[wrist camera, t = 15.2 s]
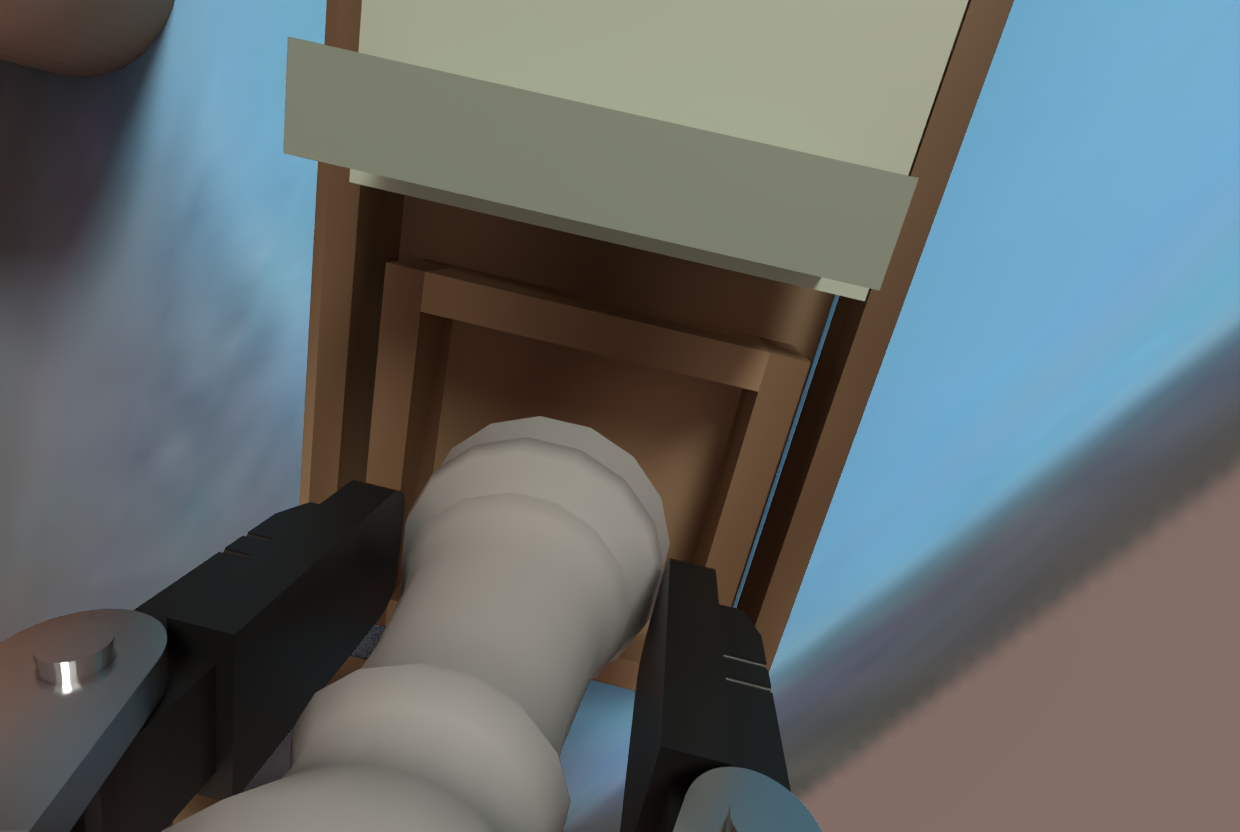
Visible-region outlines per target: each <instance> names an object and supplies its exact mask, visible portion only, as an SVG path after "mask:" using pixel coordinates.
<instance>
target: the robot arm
mask: <svg viewBox="0 0 1240 832" xmlns="http://www.w3.org/2000/svg"><path fill="white" fill-rule="evenodd" d="M404 511H405V497H404V494H403V493H402V492H401V491H398V490H394V489H390V488H386V487H382V486H378V485H374V484H370V483H366V482H362V481H358V480H353V481H350V482H349V483H347V484H346V485H345V486H343V487H342V488H341V489H339V490H338V491H336V492H335V493H334V494H332V495H331V496H330V497H328V498H327V499H326V500H324V501H323V502H322V503H320V504H317V503H313V502H308V503H305V504H302V505H300V506H297V507H294V508H291V509H288V510H285V511H282V512H279V513H276V514H274V515H273V516H271V517H270V518H268V519H267V520H265V521H264V522H262V523H261V524H259V525H258V526H256V527H255V528H253V529H252V530H251V531H249V532H248V534H247V536H246V537H245V536H242V537H240V538H239V539H237V540H236V541H234V542H233V543H231V544H230V545H229V546H227V547H226V548H225V550H224V552H223V553H221V552H218V553H217V554H215V555H214V556H212V557H211V558H209V559H208V560H207V561H205V562H204V563H202V564H201V565H199V566H198V567H196V568H195V569H193V570H192V571H190V572H189V573H187V574H186V575H185V576H183V577H182V578H180V579H179V580H177V581H176V582H174V583H173V584H171V585H170V586H168V587H167V588H165V589H164V590H163V591H161V592H160V593H158V594H157V595H155V596H154V597H152V598H151V599H149V600H148V601H146V602H145V603H143V604H142V605H141V606H139V607H138V608H136V609H135V610H125V609H99V610H89V611H83V612H77V613H72V614H68V615H64V616H60V617H57V618H53V619H50V620H47V621H44V622H42V623H39V624H37V625H34V626H32V627H29V628H27V629H25V630H23V631H21V632H19V633H17V634H15V635H13V636H11V637H10V638H8V639H7V640H5V641H3V642H2V643H0V832H161V831H162V830H164V829H166V828H168V827H170V826H172V825H173V820H174V819H175V818H176V817H177V816H178V815H179V813H180V812H181V811H182V810H183V809H184V808H185V807H186V805H187V804H188V803H189V802H190V801H191V800H192V798H193V797H194V796H195V795H196V794H198V795H202V796H205V797H209V798H213V799H217V800H220V801H221V800H223V799H226V798H229V797H231V796H234V795H237V794H240V793H241V792H242V791H243V790H244V788H245V787H246V786H247V785H248V783H249V782H250V781H251V780H252V778H253V777H254V776H255V774H256V773H257V772H258V771H259V769H260V768H261V767H262V766H263V764H264V763H265V762H266V761H267V759H268V758H269V757H270V756H271V754H272V753H273V752H274V751H275V749H276V748H277V747H278V746H279V744H280V743H281V742H282V740H283V739H284V738H285V737H286V735H287V734H288V733H289V732H290V730H291V729H292V728H293V727H294V725H295V724H296V722H297V720H298V719H299V717H300V716H301V714H302V713H303V711H304V710H305V708H306V706H307V705H308V703H309V702H310V700H311V699H312V697H313V695H314V694H315V693H316V692H318V691H319V690H321V689H323V688H325V686H326V685H327V684H328V683H329V681H330V680H331V679H332V678H333V676H334V675H335V674H336V673H337V671H338V670H339V669H340V668H341V666H342V665H343V664H344V662H345V661H346V660H347V659H348V657H349V656H350V655H351V654H352V652H353V651H354V650H355V649H356V647H357V646H358V645H359V644H360V642H361V641H362V640H363V639H364V637H365V636H366V635H367V634H368V632H369V631H370V630H371V629H372V627H373V626H374V625H375V623H376V622H377V621H378V620H379V618H380V617H381V616H382V614H383V613H384V611H385V609H386V607H387V606H388V603H389V601H390V599H391V596H392V594H393V591H394V588H395V584H396V580H397V574H398V565H399V556H400V547H401V538H402V529H403V520H404ZM766 664H767V662H766V657H765V652H764V646H763V641H762V636H761V635H760V633H759V632H758V630H757V629H756V627H755V626H754V625H753V623H752V622H751V620H750V619H749V617H748V616H747V614H746V613H745V612H744V610H740V609H736V608H732V607H728V606H724V605H720V604H719V599H718V587H717V576H716V570H715V569H713V568H709V567H704V566H700V565H696V564H692V563H688V562H684V561H680V560H676V559H672V558H668V560H667V562H666V565H665V568H664V572H663V575H662V579H661V583H660V586H659V590H658V594H657V597H656V601H655V605H654V608H653V612H652V616H651V619H650V623H649V627H648V630H647V634H646V637H645V641H644V645H643V650H642V654H641V659H640V664H639V670H638V676H637V683H636V692H635V701H634V710H633V719H632V728H631V737H630V746H629V755H628V764H627V773H626V782H625V791H624V800H623V809H622V819H621V828H620V832H822V831H821V829H820V827H819V825H818V823H817V822H816V820H815V819H814V817H813V816H812V815H811V813H810V812H809V810H808V809H807V808H806V807H805V806H804V805H803V803H802V802H801V801H800V800H799V799H798V798H797V797H796V796H795V795H793V794H792V793H791V790H790V784H789V779H788V774H787V768H786V763H785V758H784V753H783V747H782V742H781V737H780V731H779V726H778V721H777V715H776V710H775V705H774V699H773V694H772V693H771V692H770V690H771V683H770V678H769V673H768V669H766Z"/></svg>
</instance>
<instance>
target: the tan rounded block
mask: <svg viewBox="0 0 1240 832" xmlns="http://www.w3.org/2000/svg"><path fill="white" fill-rule="evenodd" d="M173 4H174V0H0V59H1V60H5V61H8V62H12V63H16V64H20V65H24V66H28V67H32V68H35V69H39V70H43V71H47V72H51V73H55V74H59V75H65V76H71V77H93V76H99V75H105V74H108V73H111V72H114V71H117V70H119V69H121V68H123V67H125V66H126V65H128V64H130V63H132V62H133V61H135V60H136V59H137V58H138V57H139V56H141V55H142V54H143V53H144V52H145V51H146V50H147V49H148V48H149V47H150V46H151V45H152V43H153V42H154V41H155V40H156V38H157V37H158V35H159V34H160V32H161V30H162V29H163V27H164V26H165V24H166V21H167V19H168V17H169V15H170V12H171V10H172V7H173Z"/></svg>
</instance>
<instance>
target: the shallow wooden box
mask: <svg viewBox="0 0 1240 832" xmlns="http://www.w3.org/2000/svg"><path fill="white" fill-rule="evenodd" d="M1013 2H1014V0H968V3H967V6H966V9H965V12H964V15H963V18H962V20H961V23H960V26H959V29H958V32H957V35H956V38H955V41H954V44H953V47H952V49H951V52H950V55H949V58H948V61H947V64H946V67H945V70H944V73H943V76H942V79H941V81H940V84H939V87H938V90H937V93H936V96H935V99H934V102H933V105H932V108H931V110H930V113H929V116H928V119H927V122H926V125H925V128H924V131H923V134H922V137H921V140H920V142H919V145H918V148H917V151H916V154H915V157H914V160H913V163H912V166H911V169H910V171H909V174H908V176H912V177H916V178H919V179H918V182H917V185H916V188H915V191H914V194H913V196H912V199H911V202H910V205H909V208H908V211H907V214H906V216H905V219H904V222H903V225H902V228H901V231H900V234H899V236H898V239H897V242H896V245H895V248H894V251H893V254H892V256H891V259H890V262H889V265H888V268H887V271H886V274H885V276H884V279H883V282H882V285H881V288H880V291H879V290H875V289H870V288H869V291H868V293H867V296H866V299H865V301H861V300H857V299H853V298H848V297H844V296H839V299H838V302H837V305H836V308H835V311H834V315H833V318H832V321H831V324H830V327H829V330H828V333H827V336H826V339H825V342H824V345H823V348H822V351H821V354H820V357H819V360H818V363H817V366H816V369H815V372H814V375H813V378H812V381H811V384H810V387H809V390H808V393H807V396H806V399H805V402H804V405H803V408H802V411H801V414H800V417H799V421H798V424H797V427H796V430H795V433H794V436H793V439H792V442H791V445H790V448H789V451H788V454H787V457H786V460H785V463H784V466H783V469H782V472H781V475H780V478H779V481H778V484H777V487H776V490H775V493H774V496H773V499H772V502H771V505H770V508H769V511H768V514H767V517H766V520H765V523H764V526H763V530H762V533H761V536H760V539H759V542H758V545H757V548H756V551H755V554H754V557H753V560H752V563H751V566H750V569H749V572H748V575H747V578H746V581H745V584H744V587H743V590H742V593H741V596H740V599H739V602H738V605H737V608H736V609H740V610H744V612H745V613H746V614H747V616H748V617H749V619H750V620H751V622H752V623H753V625H754V626H755V627H756V629H757V630H758V632H759V633H760V635H761V636H762V641H763V646H764V652H765V657H766V662H767V664H766V669H768V673H769V670H770V668H771V665H772V662H773V660H774V657H775V654H776V651H777V649H778V646H779V643H780V640H781V638H782V635H783V632H784V629H785V627H786V624H787V621H788V618H789V616H790V613H791V610H792V607H793V605H794V602H795V599H796V596H797V594H798V591H799V588H800V586H801V583H802V580H803V577H804V575H805V572H806V569H807V566H808V564H809V561H810V558H811V555H812V553H813V550H814V547H815V544H816V542H817V539H818V536H819V533H820V531H821V528H822V525H823V522H824V520H825V517H826V514H827V512H828V509H829V506H830V503H831V501H832V498H833V495H834V492H835V490H836V487H837V484H838V481H839V479H840V476H841V473H842V470H843V468H844V465H845V462H846V459H847V457H848V454H849V451H850V448H851V446H852V443H853V440H854V438H855V435H856V432H857V429H858V427H859V424H860V421H861V418H862V416H863V413H864V410H865V407H866V405H867V402H868V399H869V396H870V394H871V391H872V388H873V385H874V383H875V380H876V377H877V374H878V372H879V369H880V366H881V364H882V361H883V358H884V355H885V353H886V350H887V347H888V344H889V342H890V339H891V336H892V333H893V331H894V328H895V325H896V322H897V320H898V317H899V314H900V311H901V309H902V306H903V303H904V300H905V298H906V295H907V292H908V290H909V287H910V284H911V281H912V279H913V276H914V273H915V270H916V268H917V265H918V262H919V259H920V257H921V254H922V251H923V248H924V246H925V243H926V240H927V237H928V235H929V232H930V229H931V226H932V224H933V221H934V218H935V216H936V213H937V210H938V207H939V205H940V202H941V199H942V196H943V194H944V191H945V188H946V185H947V183H948V180H949V177H950V174H951V172H952V169H953V166H954V163H955V161H956V158H957V155H958V152H959V150H960V147H961V144H962V142H963V139H964V136H965V133H966V131H967V128H968V125H969V122H970V120H971V117H972V114H973V111H974V109H975V106H976V103H977V100H978V98H979V95H980V92H981V89H982V87H983V84H984V81H985V78H986V76H987V73H988V70H989V68H990V65H991V62H992V59H993V57H994V54H995V51H996V48H997V46H998V43H999V40H1000V37H1001V35H1002V32H1003V29H1004V26H1005V24H1006V21H1007V18H1008V15H1009V13H1010V10H1011V7H1012V4H1013ZM361 8H362V0H327V9H326V27H325V45H327V46H332V47H336V48H341V49H345V50H350V51H354V52H358V51H359V36H360V22H361ZM349 178H350V168H346V167H341V166H337V165H333V164H328V163H324V162H320V161H318V174H317V192H316V211H315V229H314V247H313V265H312V284H311V302H310V320H309V339H308V357H307V375H306V394H305V412H304V430H303V449H302V467H301V485H300V504H299V506H300V505H302V504H305V503H308V502H313V503H317V504H320V503H322V502H323V501H324V500H326V499H327V498H328V497H330V496H331V495H332V494H334V493H335V492H336V491H338V490H339V489H341V488H342V487H343V486H345V485H346V484H347V483H349V482H350V481H353V480H358V481H362V482H366V483H370V484H374V485H378V486H382V487H386V488H390V489H394V490H398V491H401V492H402V493H403V494H404V497H405V511H404V520H403V529H402V538H401V547H400V556H399V565H398V574H397V580H396V584H395V588H394V591H393V594H392V596H391V599H390V601H389V603H388V606H387V607H386V609H385V611H384V613H383V614H382V616H381V617H380V618H379V620H378V621H377V622H376V623H375V624H376V625H380V626H384V627H386V625H387V623H388V621H389V619H390V617H391V615H392V613H393V612H394V610H395V608H396V606H397V604H398V602H399V600H400V598H401V595H400V589H401V580H402V568H401V562H402V552H403V543H404V533H405V524H406V520H407V517H408V514H409V511H410V509H411V507H412V506H413V504H414V502H415V501H416V499H417V498H418V496H419V494H420V493H421V491H422V490H423V488H424V486H425V485H426V483H427V482H428V480H429V478H430V477H431V475H432V474H433V472H434V471H435V470H436V469H438V468H439V467H440V466H441V465H442V463H443V462H444V460H445V458H446V457H447V455H448V454H449V452H450V451H451V449H452V448H454V447H455V446H457V445H458V444H460V443H461V442H463V441H465V440H466V439H468V438H469V437H471V436H472V435H474V434H476V433H477V432H479V431H480V430H482V429H483V428H485V427H486V426H488V425H490V424H492V423H499V422H505V421H511V420H518V419H524V418H531V417H537V416H542V417H546V418H551V419H555V420H559V421H564V422H568V423H572V424H577V425H581V426H585V427H590V428H592V429H593V430H595V431H596V432H598V433H599V434H601V435H602V436H604V437H605V438H607V439H608V440H610V441H611V442H612V443H614V444H615V445H617V446H618V447H620V448H621V449H623V450H624V451H626V452H627V453H629V454H630V455H632V456H633V457H634V458H635V460H636V461H637V463H638V464H639V466H640V467H641V468H642V470H643V471H644V473H645V474H646V476H647V477H648V479H649V480H650V482H651V483H652V485H653V486H654V488H655V489H656V491H657V492H658V494H659V495H660V497H661V499H662V504H663V509H664V515H665V520H666V526H667V531H668V537H669V542H670V544H669V548H668V552H667V556H666V559H665V563H664V568H665V565H666V562H667V560H668V558H672V559H676V560H680V561H684V562H688V563H692V564H696V565H700V566H704V567H709V568H713V569H715V570H716V576H717V587H718V599H719V604H720V605H724V606H728V607H733V604H734V601H735V598H736V595H737V592H738V589H739V586H740V583H741V580H742V577H743V574H744V571H745V567H746V564H747V561H748V558H749V555H750V552H751V549H752V546H753V543H754V540H755V537H756V534H757V531H758V528H759V525H760V522H761V519H762V516H763V513H764V509H765V506H766V503H767V500H768V497H769V494H770V491H771V488H772V485H773V482H774V479H775V476H776V473H777V470H778V467H779V464H780V461H781V458H782V454H783V451H784V448H785V445H786V442H787V439H788V436H789V433H790V430H791V427H792V424H793V421H794V418H795V415H796V412H797V409H798V406H799V403H800V400H801V396H802V393H803V390H804V387H805V384H806V381H807V378H808V375H809V372H810V369H811V366H812V363H813V360H814V357H815V354H816V351H817V348H818V345H819V342H820V338H821V335H822V332H823V329H824V326H825V323H826V320H827V317H828V314H829V311H830V308H831V305H832V302H833V299H834V296H835V294H831V293H827V292H823V291H818V290H814V289H810V288H805V287H801V286H797V285H792V284H788V283H784V282H779V281H775V280H771V279H766V278H762V277H758V276H753V275H749V274H745V273H740V272H736V271H732V270H727V269H723V268H719V267H715V266H710V265H706V264H702V263H697V262H693V261H689V260H684V259H680V258H676V257H671V256H667V255H663V254H658V253H654V252H650V251H645V250H641V249H637V248H632V247H628V246H624V245H619V244H615V243H611V242H607V241H602V240H598V239H594V238H589V237H585V236H581V235H576V234H572V233H568V232H563V231H559V230H555V229H550V228H546V227H542V226H537V225H533V224H529V223H524V222H520V221H516V220H511V219H507V218H503V217H498V216H494V215H490V214H486V213H481V212H477V211H473V210H468V209H464V208H460V207H455V206H451V205H447V204H442V203H438V202H434V201H429V200H425V199H421V198H416V197H412V196H408V195H403V194H399V193H395V192H390V191H386V190H382V189H378V188H373V187H369V186H365V185H360V184H356V183H352V182H349ZM651 616H652V615H651ZM650 619H651V617H650ZM650 619H649V620H648V622H647V623H646V625H645V626H644V628H643V629H642V630H641V631H640V632H639V634H638V635H637V636H636V637H635V638H634V639H633V641H632V642H631V643H630V644H629V645H628V646H627V648H626V649H625V650H624V651H623V652H622V653H621V655H620V656H619V657H618V658H617V659H616V660H613V661H611V662H609V663H608V664H607V665H606V667H605V668H604V669H603V670H602V671H601V673H600V674H599V675H598V676H597V677H596V678H594V679H592V680H595V681H599V682H603V683H607V684H611V685H615V686H619V687H623V688H627V689H630V690H634V691H636V683H637V676H638V670H639V664H640V659H641V654H642V650H643V645H644V641H645V637H646V634H647V630H648V627H649V623H650Z"/></svg>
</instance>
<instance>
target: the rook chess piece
mask: <svg viewBox="0 0 1240 832" xmlns="http://www.w3.org/2000/svg"><path fill="white" fill-rule="evenodd" d="M669 544H670V542H669V537H668V531H667V526H666V520H665V515H664V509H663V504H662V499H661V497H660V495H659V494H658V492H657V491H656V489H655V488H654V486H653V485H652V483H651V482H650V480H649V479H648V477H647V476H646V474H645V473H644V471H643V470H642V468H641V467H640V466H639V464H638V463H637V461H636V460H635V458H634V457H633V456H632V455H630V454H629V453H627V452H626V451H624V450H623V449H621V448H620V447H618V446H617V445H615V444H614V443H612V442H611V441H610V440H608V439H607V438H605V437H604V436H602V435H601V434H599V433H598V432H596V431H595V430H593V429H592V428H590V427H585V426H581V425H577V424H572V423H568V422H564V421H559V420H555V419H551V418H546V417H542V416H537V417H531V418H524V419H518V420H511V421H505V422H499V423H492V424H490V425H488V426H486V427H485V428H483V429H482V430H480V431H479V432H477V433H476V434H474V435H472V436H471V437H469V438H468V439H466V440H465V441H463V442H461V443H460V444H458V445H457V446H455V447H454V448H452V449H451V451H450V452H449V454H448V455H447V457H446V458H445V460H444V462H443V463H442V465H441V466H440V467H439V468H438V469H436V470H435V471H434V472H433V474H432V475H431V477H430V478H429V480H428V482H427V483H426V485H425V486H424V488H423V490H422V491H421V493H420V494H419V496H418V498H417V499H416V501H415V502H414V504H413V506H412V507H411V509H410V511H409V514H408V517H407V520H406V524H405V533H404V543H403V552H402V562H401V568H402V580H401V589H400V595H401V598H400V600H399V602H398V604H397V606H396V608H395V610H394V612H393V613H392V615H391V617H390V619H389V621H388V623H387V625H386V627H385V629H384V631H383V633H382V634H381V636H380V638H379V640H378V642H377V644H376V646H375V648H374V650H373V652H372V654H371V655H370V656H369V658H368V659H367V661H366V662H365V663H364V665H363V666H362V667H361V669H358V670H356V671H354V672H352V673H351V674H349V675H347V676H345V677H343V678H341V679H340V680H338V681H336V682H334V683H332V684H330V685H329V686H327V687H325V688H323V689H321V690H319V691H318V692H316V693H315V694H314V695H313V697H312V699H311V700H310V702H309V703H308V705H307V706H306V708H305V710H304V711H303V713H302V714H301V716H300V717H299V719H298V720H297V722H296V724H295V725H294V727H293V728H292V742H291V765H290V770H289V771H288V772H287V773H286V774H285V775H284V776H283V777H282V778H281V779H279V780H276V781H273V782H271V783H268V784H265V785H262V786H259V787H257V788H254V789H251V790H248V791H245V792H243V793H240V794H237V795H234V796H231V797H229V798H226V799H223V800H221V801H219V802H217V803H215V804H213V805H211V806H209V807H207V808H206V809H204V810H202V811H200V812H198V813H196V814H194V815H192V816H190V817H188V818H186V819H184V820H182V821H180V822H178V823H176V824H174V825H172V826H170V827H168V828H166V829H164V830H162V831H161V832H563V829H564V825H565V821H566V817H567V813H568V808H569V804H570V797H569V793H568V790H567V786H566V782H565V778H564V775H563V771H562V767H561V764H560V760H559V757H560V753H561V749H562V746H563V744H564V741H565V739H566V736H567V734H568V732H569V729H570V727H571V724H572V722H573V720H574V717H575V715H576V712H577V710H578V708H579V705H580V703H581V700H582V698H583V696H584V693H585V691H586V688H587V686H588V684H589V681H590V680H592V679H594V678H596V677H597V676H598V675H599V674H600V673H601V671H602V670H603V669H604V668H605V667H606V665H607V664H608V663H609V662H611V661H613V660H616V659H617V658H618V657H619V656H620V655H621V653H622V652H623V651H624V650H625V649H626V648H627V646H628V645H629V644H630V643H631V642H632V641H633V639H634V638H635V637H636V636H637V635H638V634H639V632H640V631H641V630H642V629H643V628H644V626H645V625H646V623H647V622H648V620H649V619H650V617H651V615H652V612H653V608H654V605H655V601H656V597H657V594H658V590H659V586H660V583H661V579H662V575H663V572H664V563H665V559H666V556H667V552H668V548H669Z"/></svg>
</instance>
